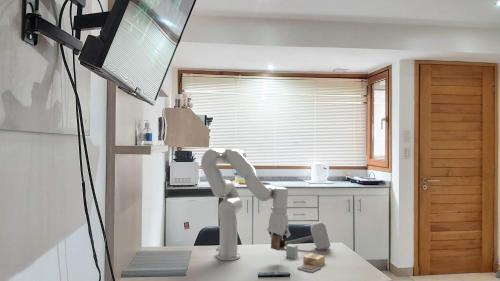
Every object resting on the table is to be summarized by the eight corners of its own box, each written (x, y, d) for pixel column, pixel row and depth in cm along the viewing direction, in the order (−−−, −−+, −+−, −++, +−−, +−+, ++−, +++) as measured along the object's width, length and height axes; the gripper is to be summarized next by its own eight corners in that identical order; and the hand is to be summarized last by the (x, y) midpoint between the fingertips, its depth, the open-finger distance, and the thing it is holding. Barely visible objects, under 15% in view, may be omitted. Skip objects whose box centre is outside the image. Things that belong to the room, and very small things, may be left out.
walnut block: (270, 248, 187) (271, 234, 187) (276, 246, 191) (277, 233, 191) (278, 250, 184) (279, 236, 184) (284, 248, 188) (285, 235, 188)
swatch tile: (297, 269, 176) (297, 267, 176) (306, 265, 182) (306, 263, 182) (311, 272, 170) (311, 271, 170) (320, 268, 176) (320, 267, 176)
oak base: (303, 264, 184) (303, 256, 184) (310, 260, 190) (310, 253, 190) (317, 267, 179) (317, 259, 179) (324, 263, 186) (324, 255, 186)
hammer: (274, 235, 210) (324, 222, 209) (273, 232, 218) (322, 220, 217) (280, 260, 210) (331, 248, 208) (280, 256, 217) (328, 244, 216)
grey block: (286, 257, 196) (286, 245, 197) (288, 254, 201) (288, 243, 201) (295, 258, 195) (295, 246, 195) (297, 255, 199) (297, 244, 199)
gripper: (262, 209, 191) (260, 243, 190) (288, 214, 179) (286, 251, 179) (271, 207, 196) (269, 241, 196) (297, 213, 185) (295, 248, 185)
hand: (277, 245), depth 187 cm, fingers closed on walnut block, 5 cm apart
